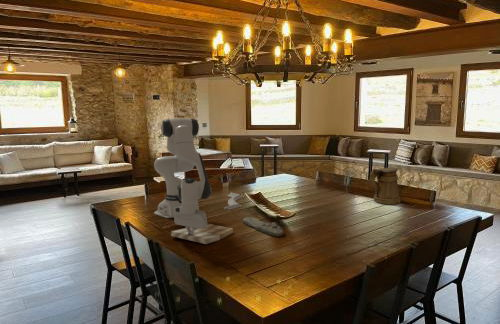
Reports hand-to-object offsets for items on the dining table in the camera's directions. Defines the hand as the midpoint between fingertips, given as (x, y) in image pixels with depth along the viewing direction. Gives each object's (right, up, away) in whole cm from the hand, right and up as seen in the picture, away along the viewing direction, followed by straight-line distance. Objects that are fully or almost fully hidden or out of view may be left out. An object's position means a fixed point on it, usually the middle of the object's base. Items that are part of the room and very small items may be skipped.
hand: (191, 234), depth 205 cm
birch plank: (+2, -3, +4) cm, 5 cm away
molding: (+17, +8, +80) cm, 83 cm away
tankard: (+129, +9, +76) cm, 150 cm away
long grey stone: (+38, -1, +21) cm, 44 cm away
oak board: (+8, -2, +15) cm, 17 cm away
